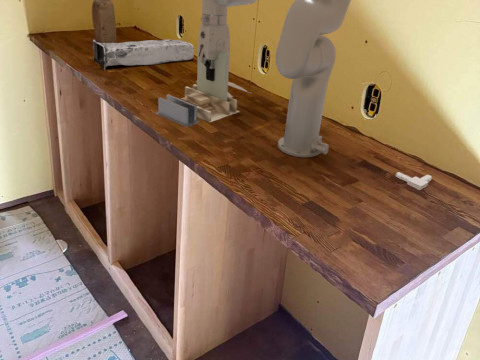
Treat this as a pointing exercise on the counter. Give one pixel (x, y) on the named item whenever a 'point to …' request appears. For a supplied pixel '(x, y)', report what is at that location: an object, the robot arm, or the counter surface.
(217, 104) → the rack
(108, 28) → the block
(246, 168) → the counter surface
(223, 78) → the grey-green panel
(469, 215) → the counter surface
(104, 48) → the concrete block
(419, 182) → the corner connector
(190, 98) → the offcut stack
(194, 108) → the stand
